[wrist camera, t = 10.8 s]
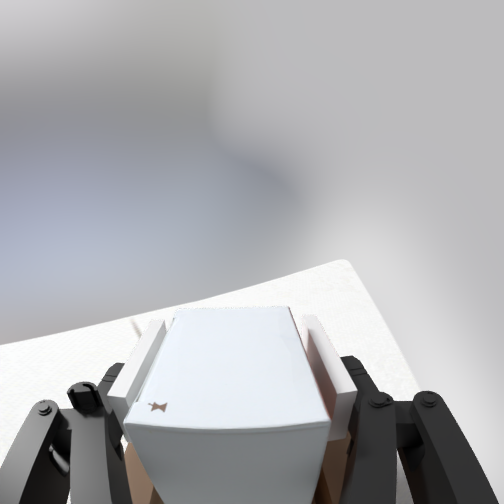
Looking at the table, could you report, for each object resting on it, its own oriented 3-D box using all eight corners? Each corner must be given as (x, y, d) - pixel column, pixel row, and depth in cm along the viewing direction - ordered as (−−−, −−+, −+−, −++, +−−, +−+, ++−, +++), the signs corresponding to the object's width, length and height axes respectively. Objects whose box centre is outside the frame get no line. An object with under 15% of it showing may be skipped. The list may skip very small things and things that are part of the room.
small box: (299, 542, 8) (338, 425, 6) (188, 543, 8) (116, 424, 6) (284, 442, 16) (291, 302, 14) (200, 443, 16) (175, 305, 14)
